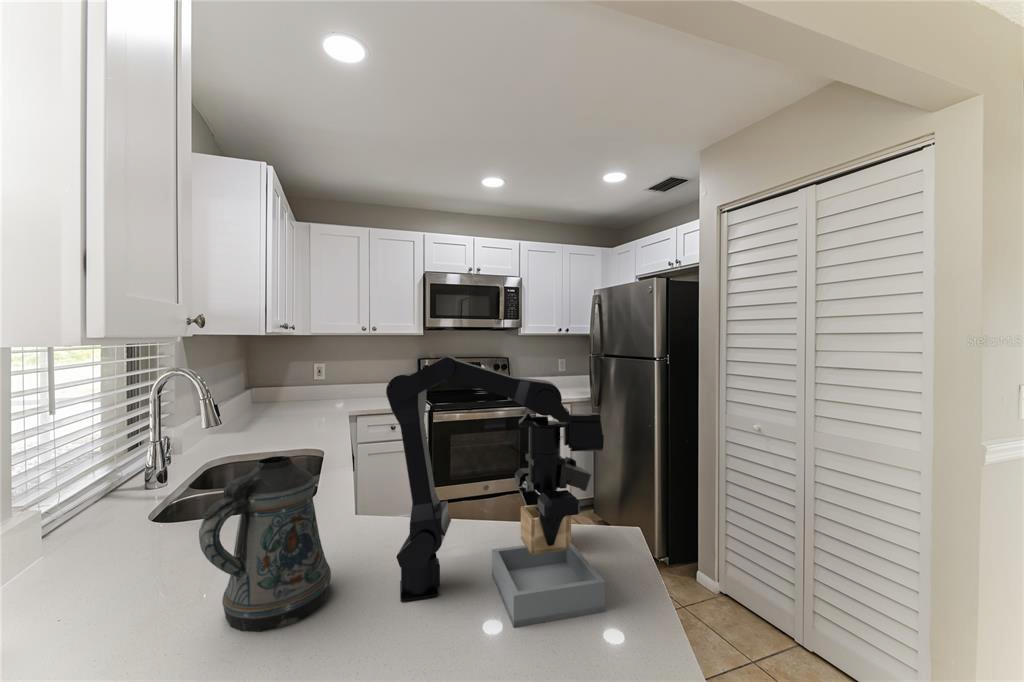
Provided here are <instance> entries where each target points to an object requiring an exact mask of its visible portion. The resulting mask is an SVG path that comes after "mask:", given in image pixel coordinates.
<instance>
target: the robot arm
mask: <svg viewBox="0 0 1024 682" xmlns="http://www.w3.org/2000/svg"><path fill="white" fill-rule="evenodd" d="M446 380H450V381H453V382H457V383H461V384H464V385H466V386H470V387H474V388H475V389H476V388H477V389H479V390H483V391H486V392H489V393H491V394H496V395H499V396H502V397H505V398H509V399H510V400H512V401H514V402H516V403H517V404H518V405H521V406H522V407H524V408H526V409H528V410H529V411H531V412H533V413H535V414H537V416H535V415H532V414H531V413H530V412H529V411H526V413H525V414H524V415H523V416H522V418H520V419H519V420H518V425H519V427H520V428H521V427H523V428H528V453H525V460H526V461H527V462H528V467H526V468H525V467H522V468H518V470H516V472H515V473H514V483H515V485H516V486H517V487H518V490H519V493H520V495H521V497H522V500H523V502H524V504H525V505H524V506H529V505H538V508H535V509H536V512H537V515H538V518H539V521H540V524H541V528H542V531H543V534H544V537H545V540H546V543H547V545H548V546H553V545H554V543H555V540H556V536H557V533H558V530H559V527H560V524H561V522H562V519H563V518H564V517H565V516H570V515H571V516H578V515H580V514H581V502H580V500H579V499H578V498H577V497H576V496H574V495H573V494H572V493H571V492H570V491H569V490H567V488H568V487H567V486H571V487H573V488H577V489H580V491H583V492H586V491H587V489H588V487H589V483H590V479H591V477H592V473H590V472H589V471H587V470H586V469H584V468H582V467H580V466H578V465H577V461H576V459H574V458H571V457H568V456H566V457H562V456H561V428H562V430H563V431H562V435H563V436H562V437H563V438H562V439H563V446H568V448H569V451H570V452H601V453H602V452H603V450H604V442H605V441H604V440H605V437H604V434H603V427H602V421H601V414H600V413H598V412H590V413H570V410H569V409H568V407H565V406H564V405H563V404H562V400H563V399H562V394H561V392H560V390H559V388H558V387H557V386H556V385H555V384H554V383H553V382H552V381H549V380H546V379H545V380H544V379H535V378H526V377H518V376H517V377H516V376H512V375H509V374H505V373H502V372H499V371H496V370H492V369H489V368H485V367H482V366H479V365H476V364H472V363H469V362H466V361H463V360H459V359H457V358H456V357H454V356H444V357H443V356H442V357H440V358H439V359H438V360H437V361H435V362H434V363H432V364H429V365H428V366H426V367H424V368H422V369H419V370H418V371H416V372H407V373H401V374H400V375H396V376H395V377H393V378H391V379H390V381H389V382H388V384H387V385H386V388H385V389H386V390H385V394H386V398H387V401H388V404H389V407H390V409H391V412H392V414H393V416H394V417H395V419H396V421H397V423H398V424H399V427H400V430H401V431H400V433H401V438H402V446H403V451H404V458H405V463H406V464H405V465H406V471H407V475H408V482H409V483H408V484H409V488H410V489H409V490H410V495H411V496H410V497H411V503H412V504H411V505H412V506H411V511H410V519H409V534H408V535H407V537H406V538H405V541H404V542H403V544H402V546H401V548H400V549H399V551H398V553H397V554H396V560H397V563H398V566H399V568H400V581H399V584H400V585H399V590H400V591H399V595H400V596H399V597H400V598H399V601H400V602H402V603H403V602H408V601H409V602H410V601H415V600H424V599H429V598H435V597H436V598H437V597H438V596H439V592H438V591H439V590H438V588H440V586H441V563H440V560H439V558H438V557H437V552H438V551H439V550H440V548H441V547H442V544H443V541H444V540H445V538H446V534H447V532H448V529H449V527H450V525H451V522H452V518H451V517H450V514H449V501H448V500H444V501H440V499H439V497H438V495H437V492H436V487H435V482H434V475H433V468H432V461H431V456H430V450H429V444H428V443H429V441H428V435H427V430H426V423H425V416H426V415H425V414H426V408H427V392H428V391H427V390H430V389H431V388H433V387H435V386H436V385H439V384H440V383H443V382H444V381H446ZM538 415H539V416H538ZM548 416H550V417H552V418H553V419H555V420H549V418H548ZM558 489H562V490H558ZM563 489H565V490H563Z"/></svg>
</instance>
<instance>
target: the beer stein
mask: <svg viewBox="0 0 1024 682" xmlns="http://www.w3.org/2000/svg"><path fill="white" fill-rule="evenodd" d="M316 485H317V479H316V477H315V476H314V475H313V474H312V473H310V472H309V471H308V470H306V469H304V468H302V467H300V466H298V465H297V464H295V463H293V462H292V460H291V458H290V456H286V455H278V456H277V455H276V456H275V455H274V456H270V457H266V458H263V459H260V460H259V461H257V464H256V466H255V468H253V469H252V470H251V471H250V472H249V473H248V474H247V475H244V476H240V477H238V478H235V479H232V480H230V481H229V482H227V483H226V484H225V486H224V489H223V498H221V499H220V500H217V501H215V502H214V503H213V504H212V505H210V506H209V507H208V509H206V511H205V512H204V514H203V519H202V521H201V524H200V527H199V529H198V541H199V546H200V549H201V552H202V554H203V555H204V556H205V558H206V559H207V560H208V562H210V563H211V564H212V565H213V566H214V567H216V568H217V569H218V570H219V571H220V570H221V571H222V572H224V573H225V574H227V575H230V576H229V580H228V582H227V586H226V587H225V590H224V592H223V595H222V602H221V604H222V608H223V611H224V615H225V617H224V618H225V619H226V621H227V622H228V624H229V626H230V627H231V628H232V629H236V630H238V631H240V632H249V633H251V632H254V633H260V632H261V633H262V632H268V631H272V630H277V629H282V628H284V627H287V626H290V625H293V624H296V623H299V622H300V621H302V620H303V619H305V618H307V617H308V616H310V615H312V614H313V613H314V612H315V611H316V610H318V609H319V608H321V607H322V605H323V604H324V603H325V601H326V600H327V599H328V591H329V587H330V582H331V577H332V571H331V568H330V565H329V563H328V561H327V558H326V555H325V553H324V549H323V545H322V540H321V538H320V532H319V527H318V520H317V515H316V509H315V508H316V507H315V503H314V497H313V496H314V492H315V490H316ZM238 515H239V518H238V522H237V530H236V535H235V542H234V548H233V550H234V551H233V555H232V553H230V552H229V551H228V550H227V549H226V548H225V547H224V546H223V544H222V542H221V539H220V537H221V536H220V535H221V530H222V527H223V526H224V524H225V522H226V521H227V520H228V519H229V518H230V517H233V516H238Z"/></svg>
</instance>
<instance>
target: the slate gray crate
mask: <svg viewBox="0 0 1024 682" xmlns="http://www.w3.org/2000/svg"><path fill="white" fill-rule="evenodd" d="M491 576H493V577H492V579H493V582H494V581H495V582H494V584H495V587H496V589H497V591H498V594H499V596H500V598H501V600H502V603H503V606H504V607H505V610H506V611H505V612H506V613H507V615H508V617H509V619H510V623H511V625H512V627H513V628H518V627H524V626H525V627H526V626H529V625H530V626H531V625H536V624H541V623H547V622H552V621H558V620H564V619H565V620H566V619H569V618H576V617H581V616H587V615H593V614H597V613H604V612H606V581H605V579H604V578H603V577H602V576H601V574H599V573H598V571H597V570H596V569H595V568H594V567H593V565H591V564H590V563H589V561H588V560H587V559H586V558H585V557H584V555H583V554H582V553H581V552H580V551H579V550H578V549H577V547H575V545H574V544H573V543H572V541H571V542H570V541H569V550H564V551H557V552H549V553H541V554H533V555H531V554H530V552H529V551H528V549H527V548H526V546H525V544H523V545H516V546H509V547H500V548H495V549H493V548H492V549H491Z"/></svg>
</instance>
